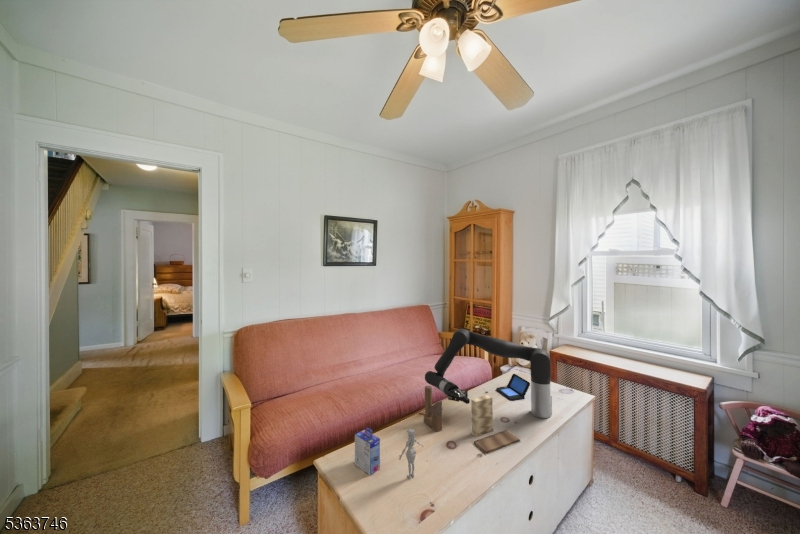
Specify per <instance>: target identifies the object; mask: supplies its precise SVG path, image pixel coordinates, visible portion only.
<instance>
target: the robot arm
mask: <svg viewBox="0 0 800 534" xmlns="http://www.w3.org/2000/svg"><path fill="white" fill-rule="evenodd" d="M466 345H470V346H474V347H477V348H480V349H482V350H483V351H485V352H486V353H488V354H490V355H493V356H496V357H497V356H498V357H500V358H505V359H508V358H509V359H519V360H520V359H521V360H524V361H527V362H529V363H530V403H531V404H530V406H531V407H530V408H531V409H530V410H531V411H530V413H531V414H532V415H533V416H534V417H537V418H540V419H548V418H551V416H552V415H553V398H552V397H553V396H552V394H551V392H552V391H551V390H552V389H551V387H552V386H551V385H552V384H551V375H552V374H551V373H552V371H551V368H552V366H551V356H550V354H549V353H548V351H546V350H545V349H543V348H537V347H534V346H533V347H532V346H527V345H521V344H519V343H515V342H512V341H509V340H505V339H501V338H497V337H493V336H489V335H484V334H479V333H477V332H474V331H471V330H468V329H466V328H458V329H457V330H456V331H455V332H454V333H453V335H452V337H451V338H450V341H449V342H448V345H447V348H446V349H445V350H444V352H443V353H442V354H441V356H439V358H438V360H437V361H436V363H435V365H434V370H435V371H432V370H429V371H428V370H427V371H426V373H425V374H424V380H425V382H426V383H427V384H429V386H431V387H432V386H433V387H435V388H437V390H439V391H440V392H441V393H442V394H444V395H445V396H447V400H449V401H454V402H463V403H465V404H466V405H468V404H471V403H470V402H471V400H470V398H469V397H468V396H469V394H468V389H465V390H462V389H460V387H459V386H458V385H457V384H456V383H453V382H452V381H451V380H449V379H447V378H446V377H444V376H445V374H446V371H447V370H448V368H449V367H450V366H451V364H452V362H453V360H454V358H455V357H456V356H457V354H458V353H459V352H460V351H461V350H462V349H463V348H464V347H465V346H466Z"/></svg>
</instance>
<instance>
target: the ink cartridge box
mask: <svg viewBox="0 0 800 534" xmlns="http://www.w3.org/2000/svg"><path fill="white" fill-rule="evenodd" d="M373 431H374V430H373V429H371V428H370V427H366V428H365V429H362V430H361V431H359V432H356V433H355V434H354V465H356V466H357V467H358V468H359V469H361V470H362V471H364V472H365V473H366V474H367V475H369V476H371V475H373V474H375V473H376V472H378V471H380V469H381V452H380V451H381V448H380V447H381V444H380V443H381V440H380V439H381V438H380V437H378V436H377V435H374V434H373ZM377 470H378V471H377Z"/></svg>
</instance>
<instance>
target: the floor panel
mask: <svg viewBox="0 0 800 534" xmlns="http://www.w3.org/2000/svg"><path fill="white" fill-rule="evenodd" d="M519 442H521V439H520V438H519V437H517V436H516V435H514V434H513V433H512V432H510V431H509V430H507V429H504V430H502V431H499V432H496V433H493V434H491V435H488V436H485V437H482V438H479V439H475V440H474V441H473V443H474V445H476V447H478V448H479V449H480V450H481V451H482V452H484V453H485V455H487V454H490V453H493V452H495V451H498V450H501V449H503V448H507V447H508V446H512V445H514V444H517V443H519Z"/></svg>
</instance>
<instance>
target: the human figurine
mask: <svg viewBox="0 0 800 534" xmlns="http://www.w3.org/2000/svg"><path fill="white" fill-rule="evenodd" d="M406 433H407V437H408V440H407V441H405V442H406V443H405V447H404V448H403V449H402V452H401V454H400V455H399V458H398V461H401V460H402V457H403V455H404V454H405V455H406V456H405V458H406V460H407V463H408V464H407V466H408V474H406V478H408V479H409V480H410V479H412V478H413V477H415V473H414V472H415V471H414V470H415V462H416V461H415V460H416V454H417V450H416V449H415V447H414V446H415V443H416V444H417V445H420V446H421V447H424V445H423V444H421V443H420V441H418V440H417V439H416V431H415V429H410V428H409V429H407V431H406Z"/></svg>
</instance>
